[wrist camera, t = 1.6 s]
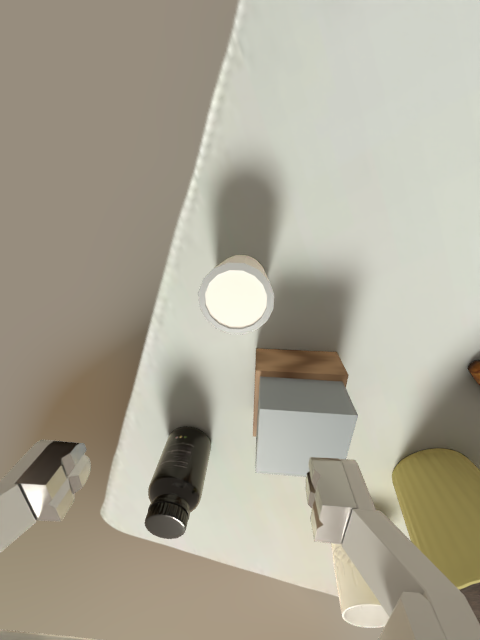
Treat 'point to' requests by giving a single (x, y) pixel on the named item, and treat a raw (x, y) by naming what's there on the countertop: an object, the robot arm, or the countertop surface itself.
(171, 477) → the supplement bottle
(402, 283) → the countertop surface
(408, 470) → the potted cactus
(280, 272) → the countertop surface
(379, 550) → the robot arm
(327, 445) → the top block
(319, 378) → the bottom block
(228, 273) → the white piece
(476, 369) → the croissant
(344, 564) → the white cup
